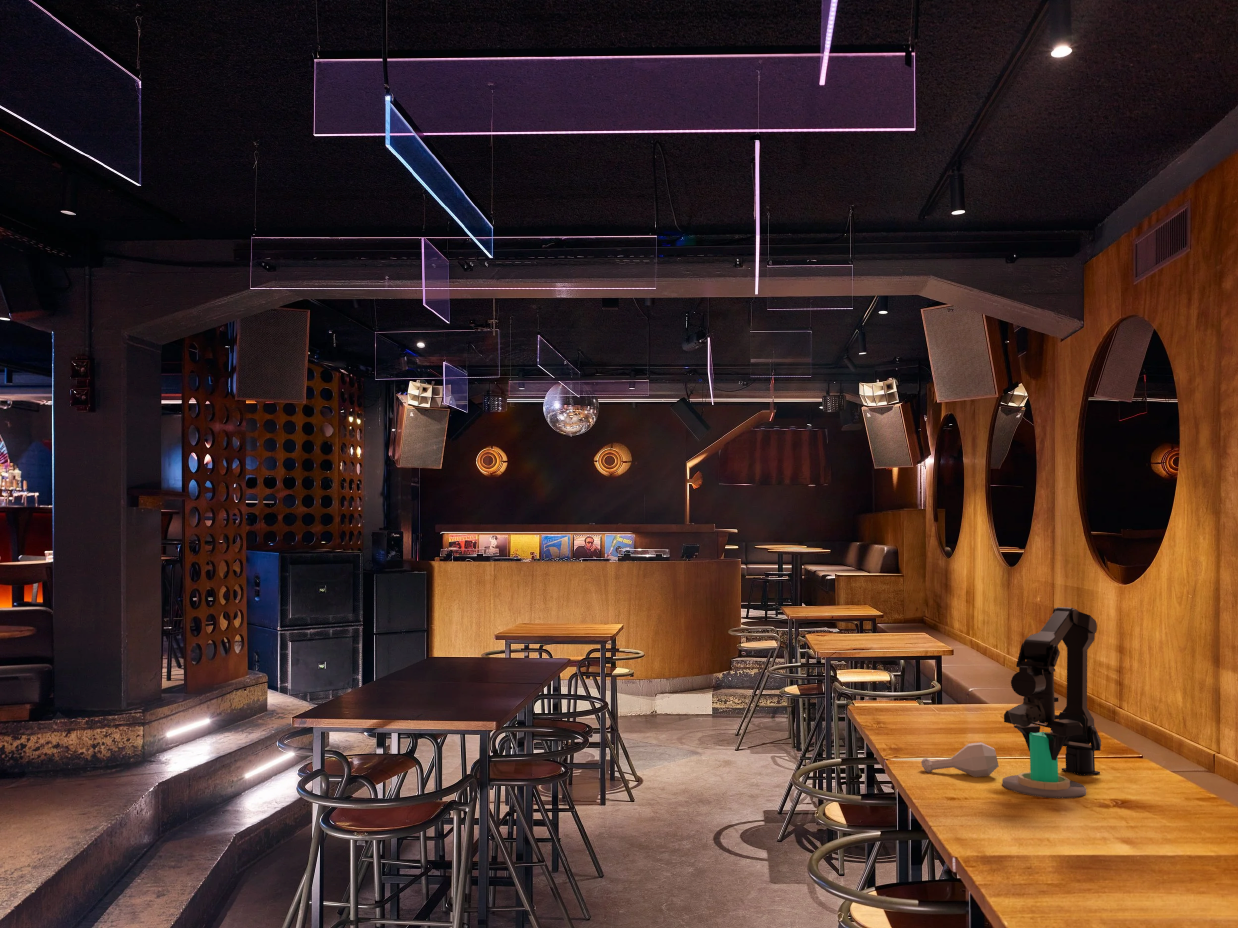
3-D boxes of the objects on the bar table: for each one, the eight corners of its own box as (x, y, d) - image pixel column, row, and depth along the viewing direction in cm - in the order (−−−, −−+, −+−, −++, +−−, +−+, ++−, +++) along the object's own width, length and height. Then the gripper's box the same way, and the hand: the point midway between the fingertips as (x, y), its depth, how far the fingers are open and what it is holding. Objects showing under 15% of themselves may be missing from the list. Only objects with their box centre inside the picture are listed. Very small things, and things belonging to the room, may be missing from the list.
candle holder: (1042, 776, 234) (1041, 766, 234) (1104, 794, 217) (1103, 783, 218) (985, 782, 227) (985, 771, 227) (1045, 801, 210) (1045, 789, 211)
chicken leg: (923, 770, 243) (917, 742, 241) (997, 761, 238) (990, 733, 236) (926, 790, 236) (919, 762, 234) (1002, 782, 231) (996, 753, 228)
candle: (1057, 777, 224) (1055, 726, 225) (1059, 783, 218) (1058, 730, 219) (1029, 775, 226) (1028, 724, 227) (1031, 781, 220) (1030, 728, 221)
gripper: (985, 688, 230) (987, 753, 228) (1046, 700, 213) (1049, 771, 211) (1020, 686, 234) (1022, 750, 233) (1083, 697, 217) (1085, 767, 215)
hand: (1043, 759), depth 223 cm, fingers closed on candle, 5 cm apart
